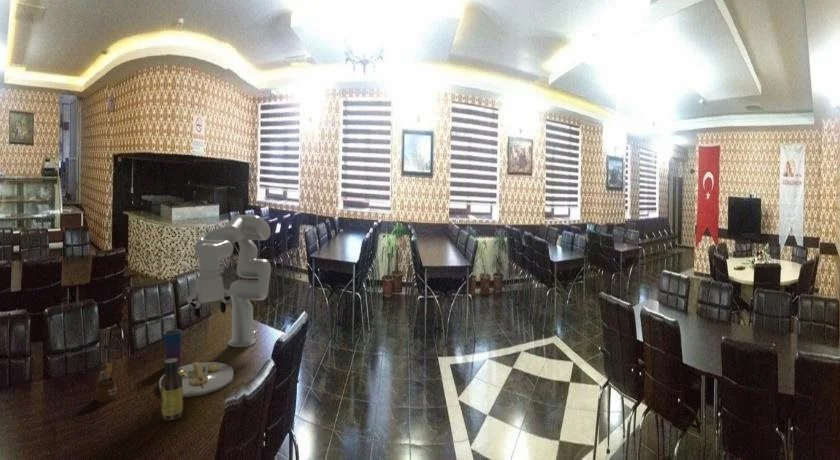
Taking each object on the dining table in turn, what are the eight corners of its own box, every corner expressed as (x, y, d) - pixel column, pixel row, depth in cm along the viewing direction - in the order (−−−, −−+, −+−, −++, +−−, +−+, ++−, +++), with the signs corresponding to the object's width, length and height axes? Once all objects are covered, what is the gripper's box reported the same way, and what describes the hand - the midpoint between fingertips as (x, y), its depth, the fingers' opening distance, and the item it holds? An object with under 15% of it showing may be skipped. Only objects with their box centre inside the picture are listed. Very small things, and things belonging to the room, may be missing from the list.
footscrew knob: (186, 381, 163) (186, 363, 163) (204, 377, 168) (204, 359, 167) (192, 388, 158) (192, 370, 158) (210, 383, 163) (210, 365, 162)
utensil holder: (93, 403, 150) (92, 370, 149) (101, 395, 156) (100, 363, 155) (112, 402, 151) (111, 369, 150) (119, 393, 157) (119, 362, 156)
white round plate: (195, 364, 186) (195, 354, 185) (247, 373, 179) (247, 363, 178) (142, 390, 161) (142, 379, 160) (199, 402, 154) (199, 390, 153)
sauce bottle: (167, 412, 146) (166, 355, 144) (186, 411, 147) (185, 355, 145) (157, 422, 140) (156, 363, 138) (177, 422, 141) (177, 363, 139)
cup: (160, 366, 181) (159, 332, 180) (175, 361, 187) (175, 328, 186) (170, 370, 178) (169, 335, 177) (185, 365, 184) (185, 331, 183)
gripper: (227, 269, 181) (228, 308, 184) (183, 274, 169) (184, 316, 172) (235, 272, 176) (235, 312, 179) (189, 278, 164) (190, 321, 166)
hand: (210, 314), depth 175 cm, fingers open, 9 cm apart
